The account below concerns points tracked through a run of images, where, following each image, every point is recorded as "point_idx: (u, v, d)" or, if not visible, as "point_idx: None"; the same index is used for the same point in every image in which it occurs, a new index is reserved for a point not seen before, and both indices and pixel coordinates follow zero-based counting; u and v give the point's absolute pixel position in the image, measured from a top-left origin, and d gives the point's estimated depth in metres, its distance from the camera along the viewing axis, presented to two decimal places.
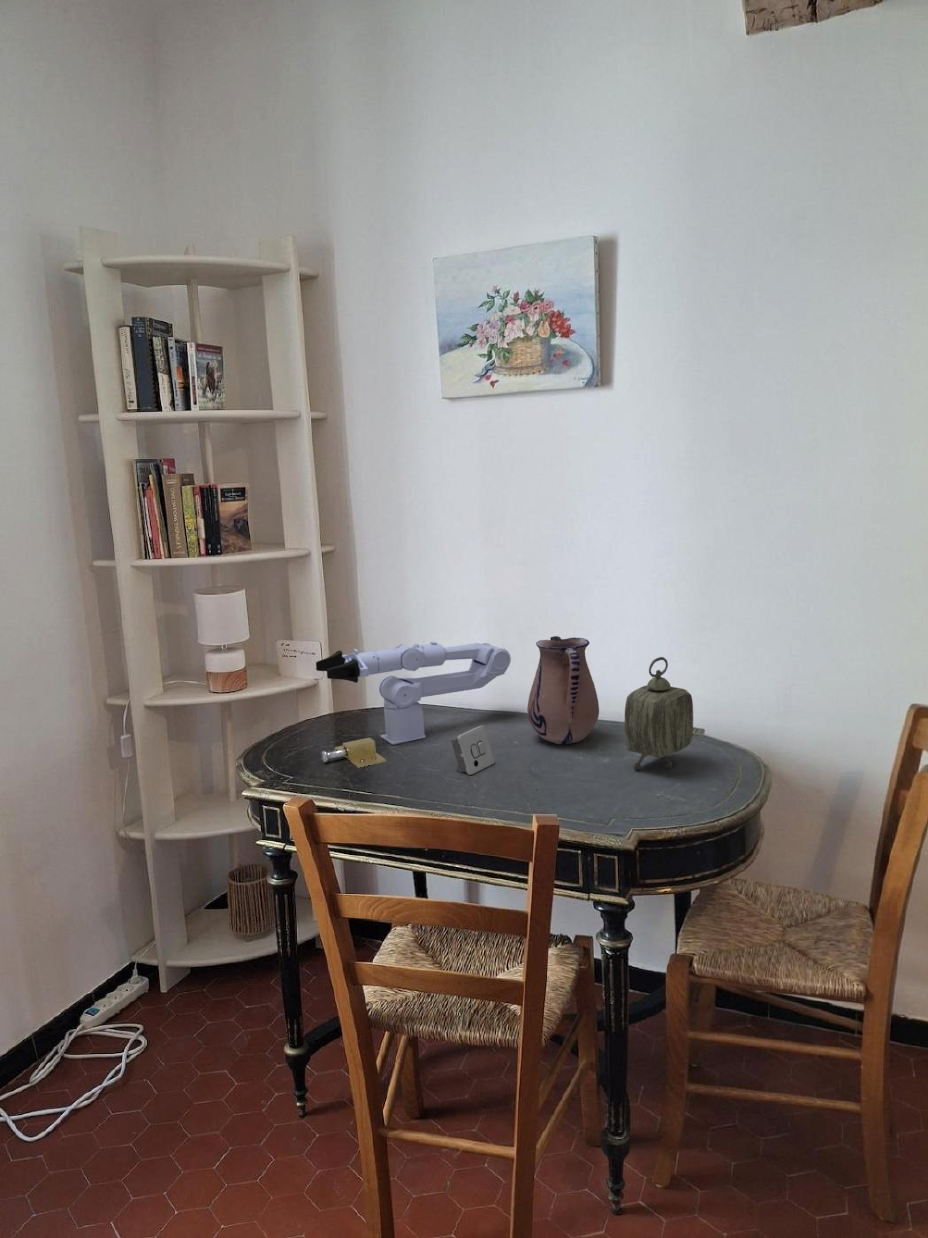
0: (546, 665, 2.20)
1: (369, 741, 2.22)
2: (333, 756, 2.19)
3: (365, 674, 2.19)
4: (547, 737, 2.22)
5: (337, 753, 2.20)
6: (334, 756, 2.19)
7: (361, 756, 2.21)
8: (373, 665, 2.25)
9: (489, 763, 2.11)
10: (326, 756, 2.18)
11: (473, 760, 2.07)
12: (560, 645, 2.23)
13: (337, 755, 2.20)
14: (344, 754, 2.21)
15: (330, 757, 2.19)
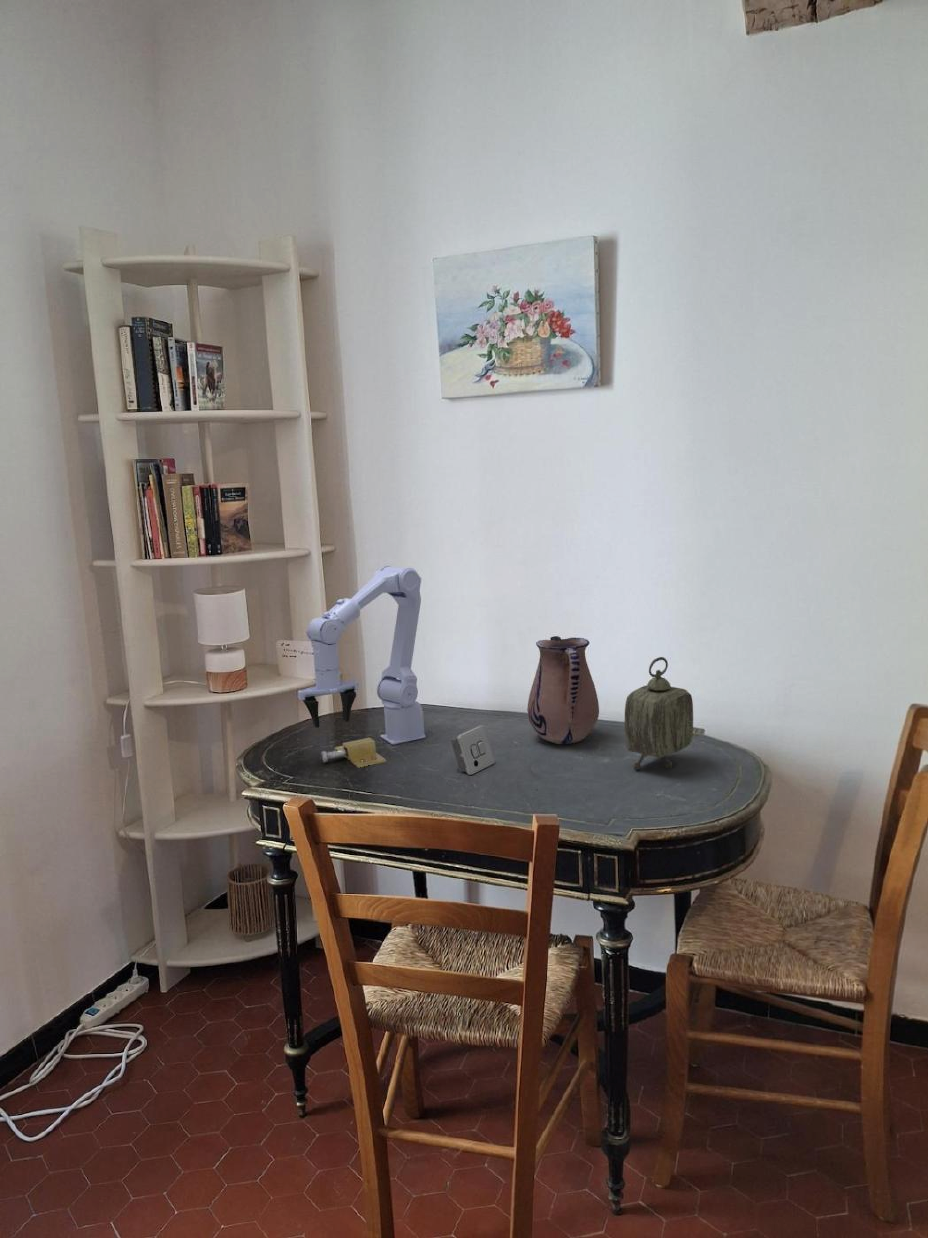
0: (546, 665, 2.20)
1: (369, 741, 2.22)
2: (333, 756, 2.19)
3: None
4: (547, 737, 2.22)
5: (337, 753, 2.20)
6: (334, 756, 2.19)
7: (361, 756, 2.21)
8: None
9: (489, 763, 2.11)
10: (326, 756, 2.18)
11: (473, 760, 2.07)
12: (560, 645, 2.23)
13: (337, 755, 2.20)
14: (344, 754, 2.21)
15: (330, 757, 2.19)
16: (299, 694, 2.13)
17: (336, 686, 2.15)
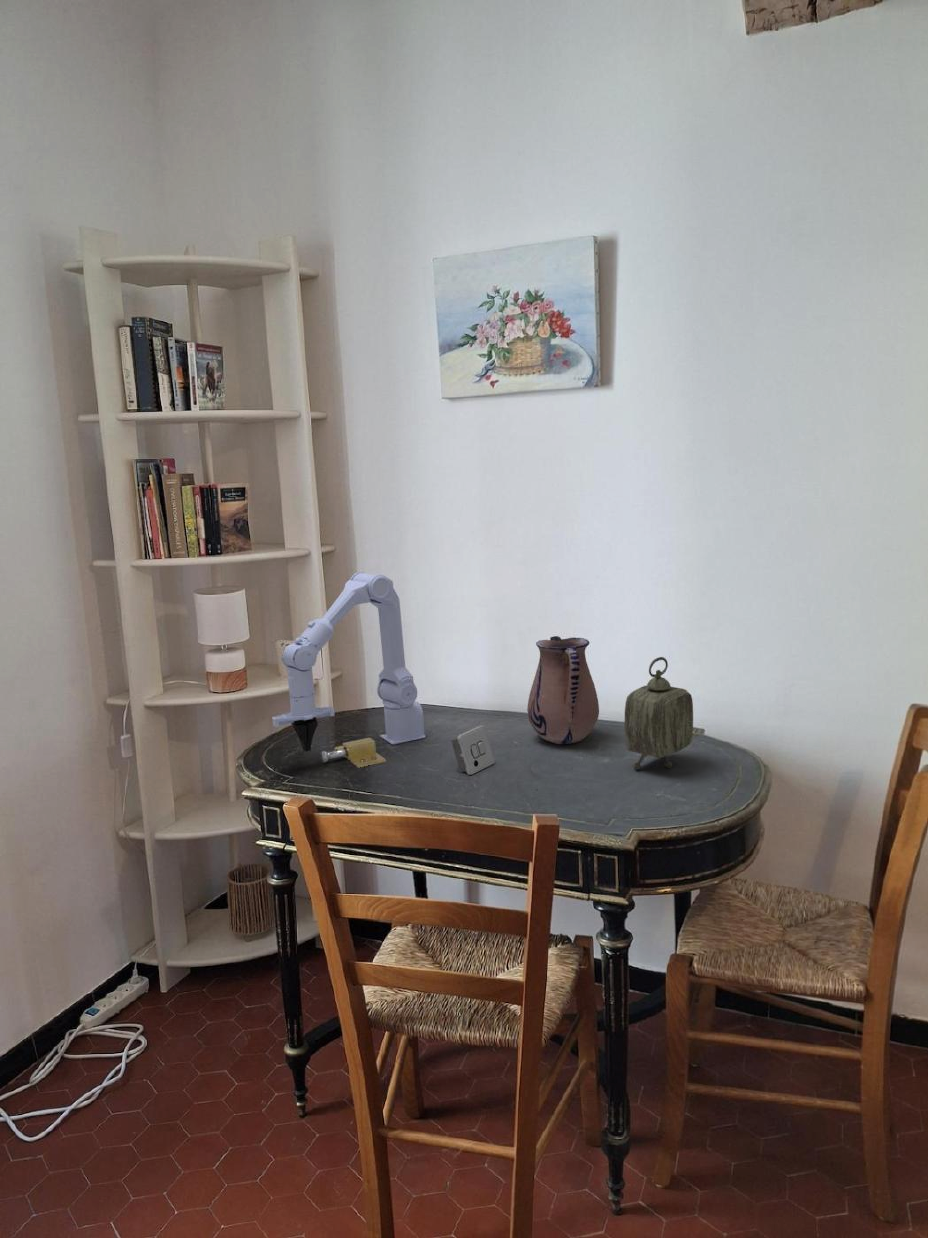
0: (546, 665, 2.20)
1: (369, 741, 2.22)
2: (333, 756, 2.19)
3: None
4: (547, 737, 2.22)
5: (337, 753, 2.20)
6: (334, 756, 2.19)
7: (361, 756, 2.21)
8: None
9: (489, 763, 2.11)
10: (326, 756, 2.18)
11: (473, 760, 2.07)
12: (560, 645, 2.23)
13: (337, 755, 2.20)
14: (344, 754, 2.21)
15: (330, 757, 2.19)
16: (273, 721, 2.11)
17: (311, 713, 2.13)
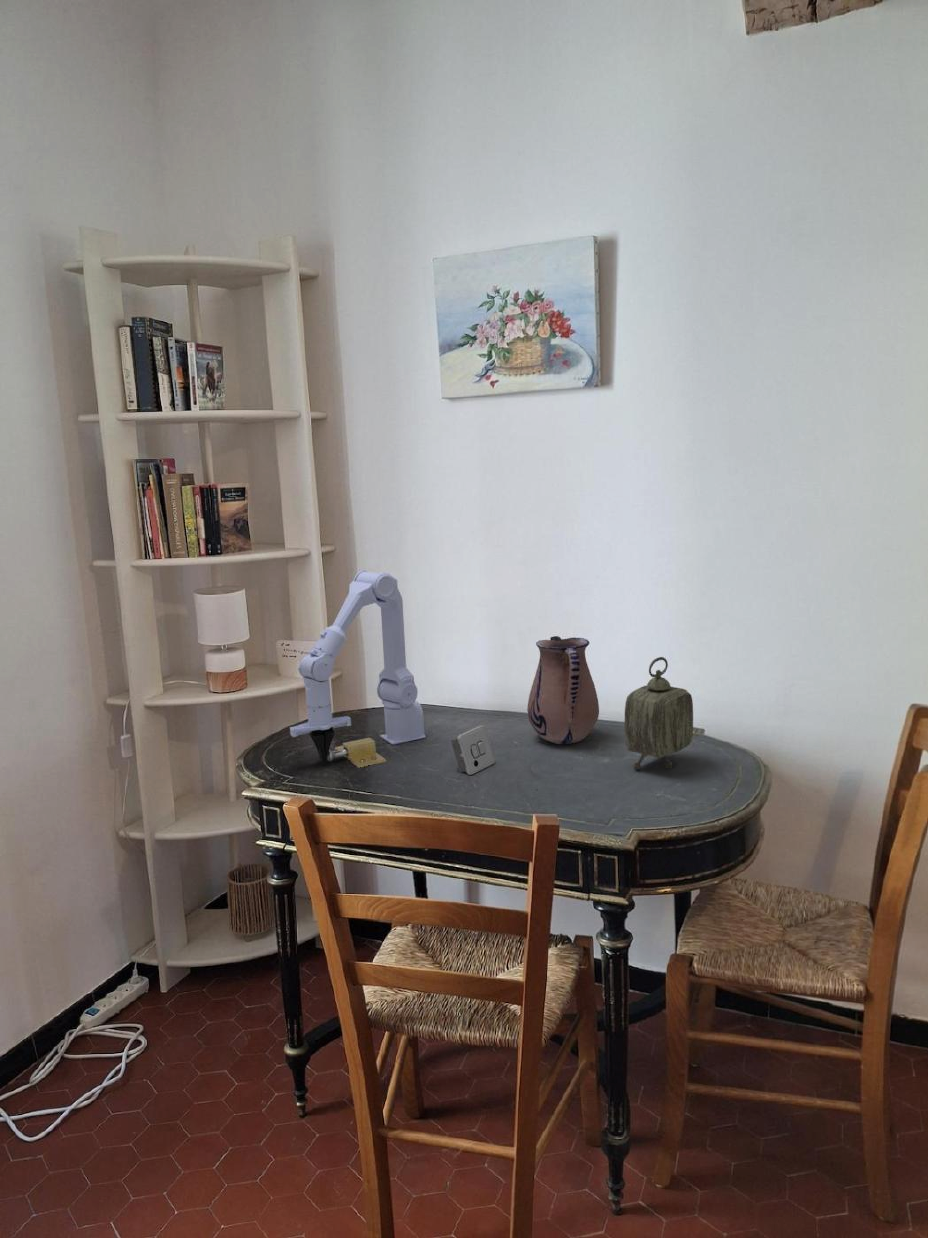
0: (546, 665, 2.20)
1: (369, 741, 2.22)
2: (338, 755, 2.20)
3: None
4: (547, 737, 2.22)
5: (342, 752, 2.20)
6: (339, 755, 2.20)
7: (361, 756, 2.21)
8: None
9: (489, 763, 2.11)
10: (331, 755, 2.18)
11: (473, 760, 2.07)
12: (560, 645, 2.23)
13: (342, 754, 2.20)
14: None
15: (335, 756, 2.19)
16: (291, 731, 2.14)
17: (328, 723, 2.15)
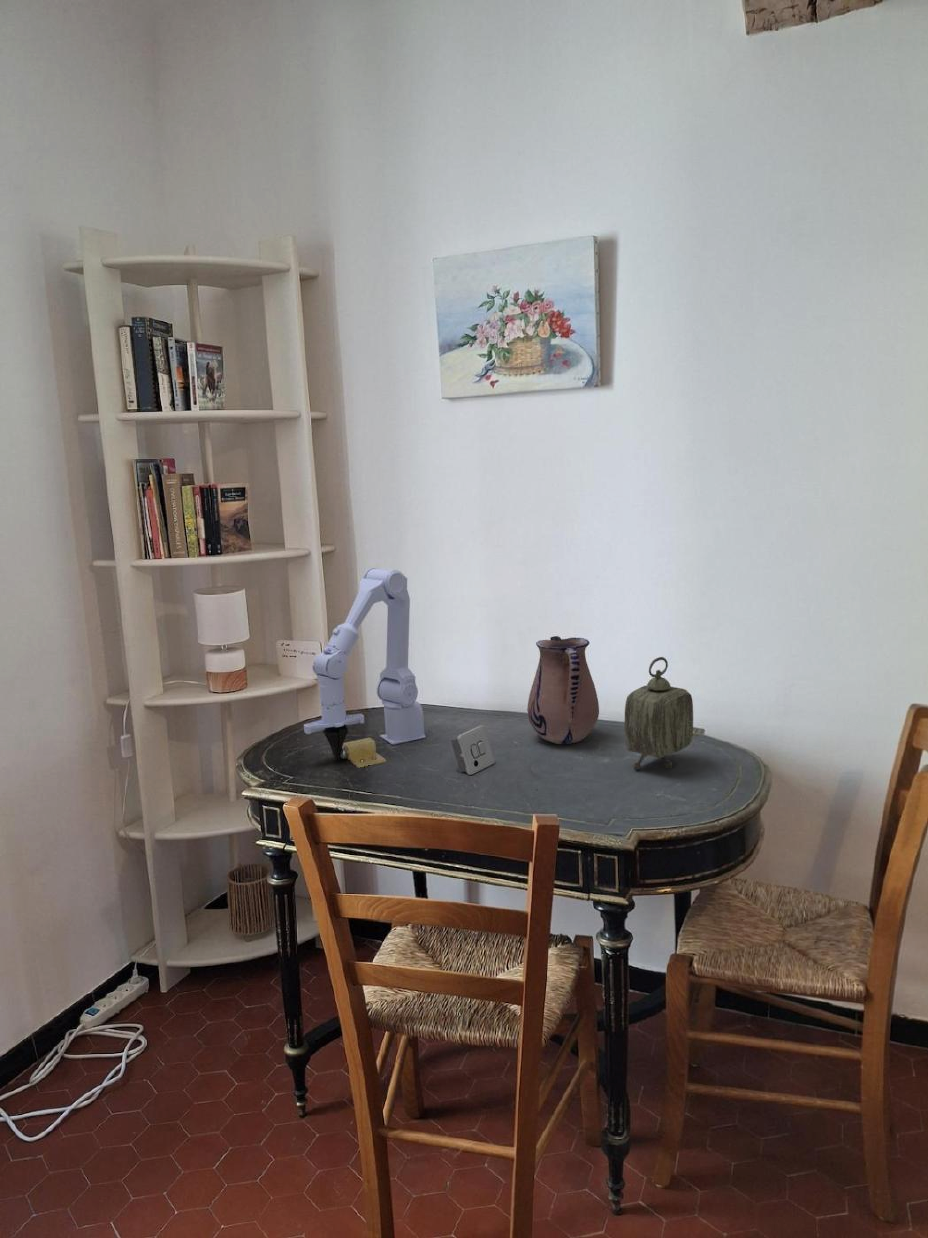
0: (546, 665, 2.20)
1: (369, 741, 2.22)
2: None
3: None
4: (547, 737, 2.22)
5: None
6: None
7: (361, 756, 2.21)
8: None
9: (489, 763, 2.11)
10: (344, 752, 2.20)
11: (473, 760, 2.07)
12: (560, 645, 2.23)
13: None
14: None
15: None
16: (305, 728, 2.15)
17: (342, 720, 2.17)
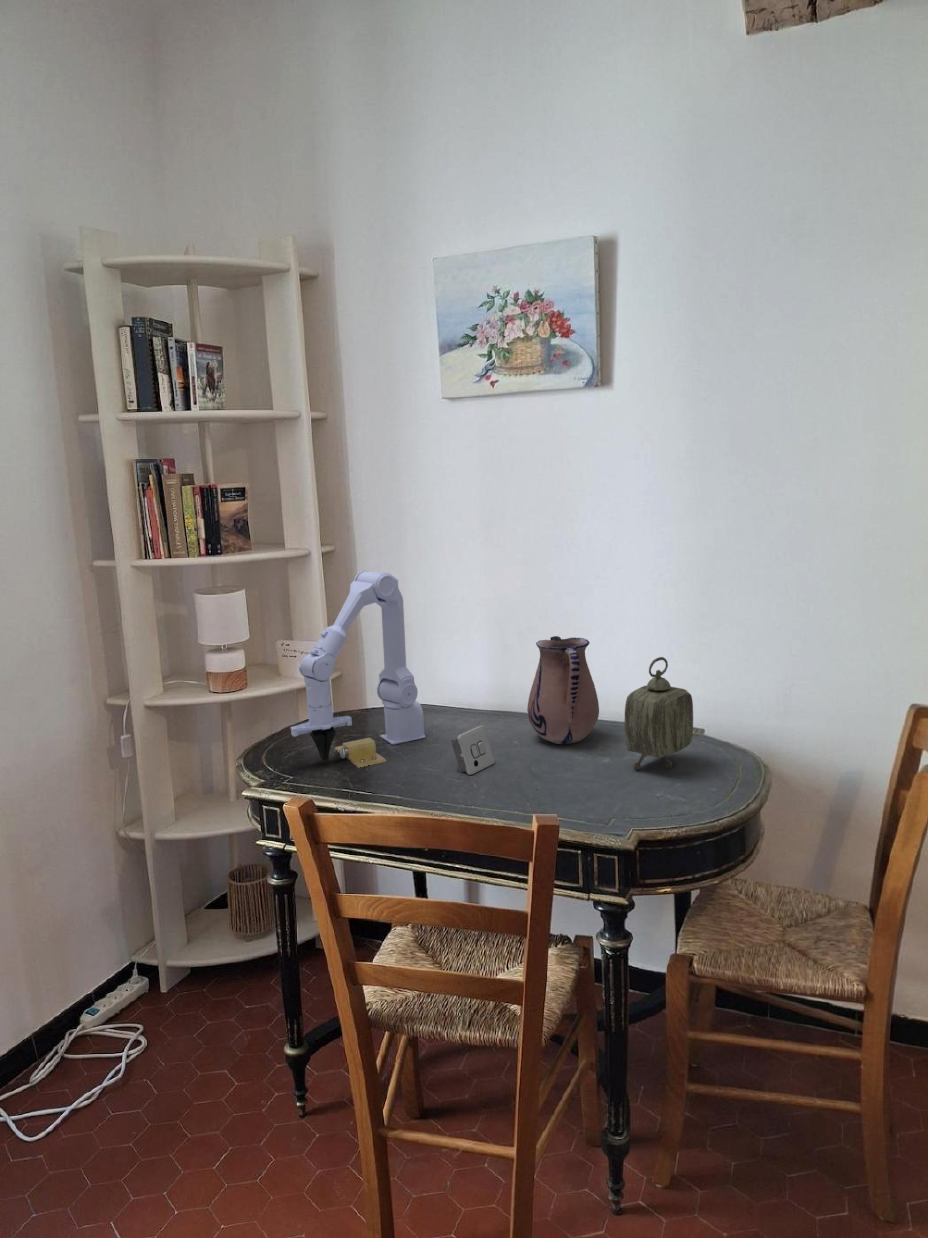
0: (546, 665, 2.20)
1: (369, 741, 2.22)
2: None
3: None
4: (547, 737, 2.22)
5: None
6: None
7: (361, 756, 2.21)
8: None
9: (489, 763, 2.11)
10: (344, 752, 2.20)
11: (473, 760, 2.07)
12: (560, 645, 2.23)
13: None
14: None
15: None
16: (292, 730, 2.14)
17: (329, 722, 2.15)
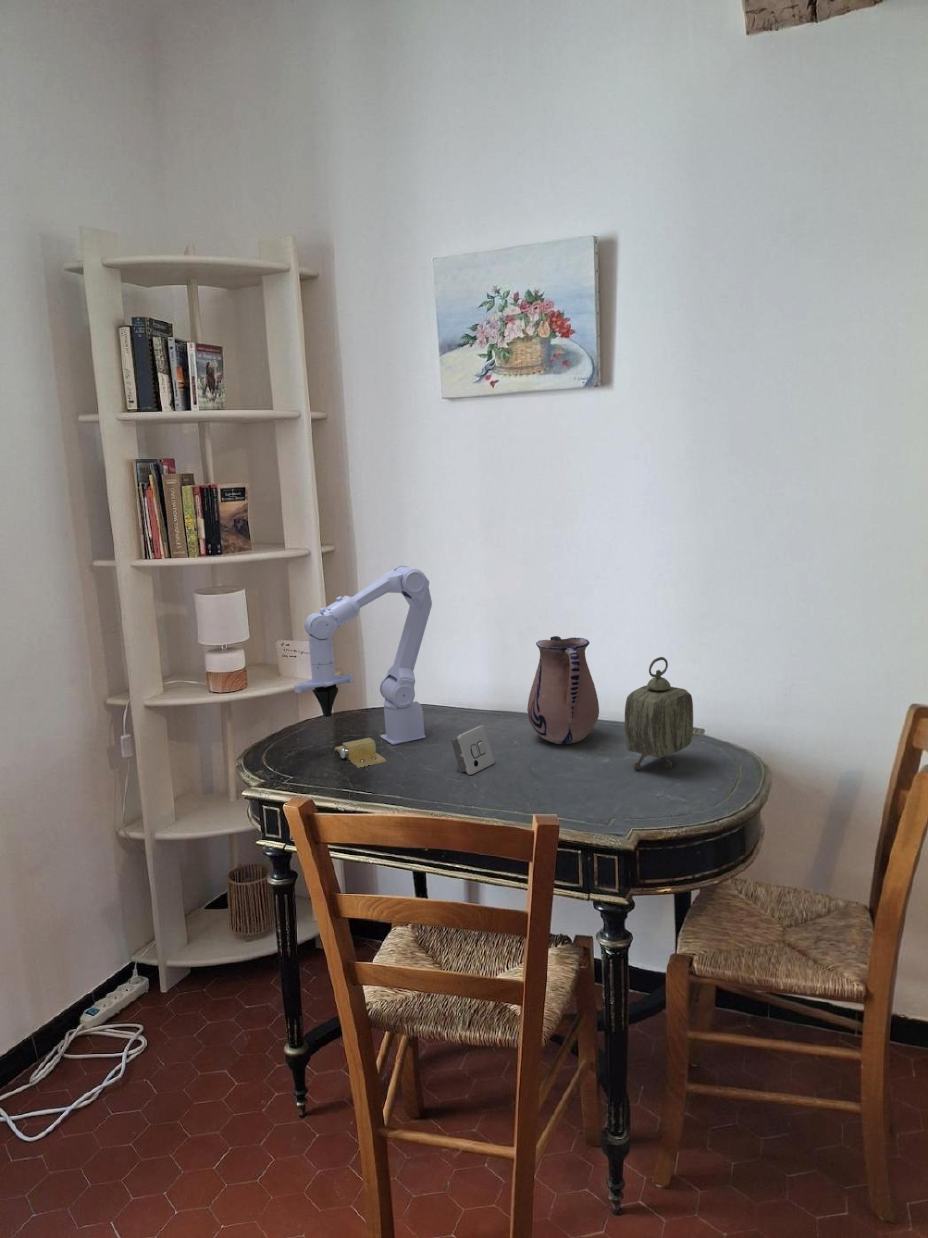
0: (546, 665, 2.20)
1: (369, 741, 2.22)
2: None
3: None
4: (547, 737, 2.22)
5: None
6: None
7: (361, 756, 2.21)
8: None
9: (489, 763, 2.11)
10: (344, 752, 2.20)
11: (473, 760, 2.07)
12: (560, 645, 2.23)
13: None
14: None
15: None
16: (296, 687, 2.20)
17: (332, 679, 2.22)
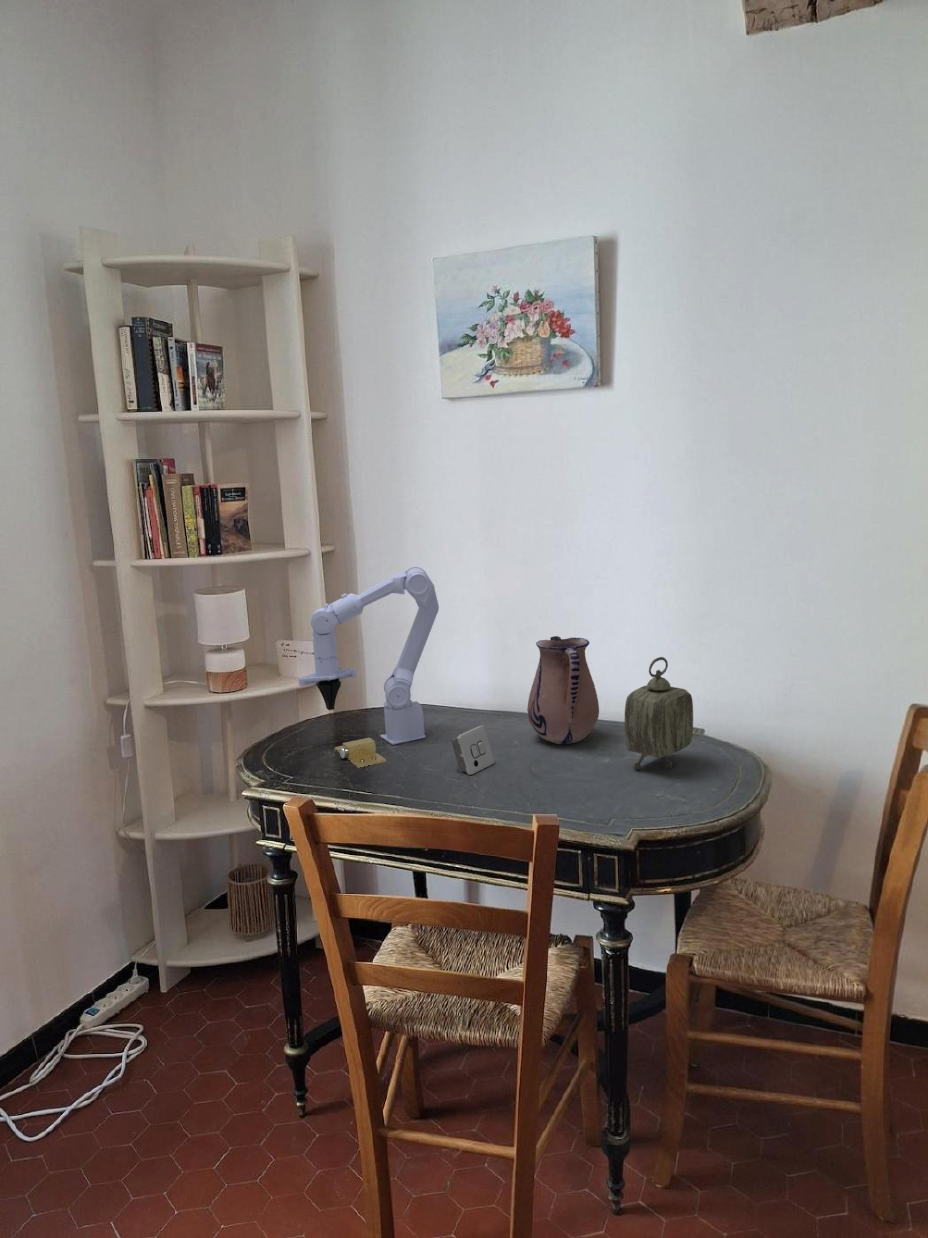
0: (546, 665, 2.20)
1: (369, 741, 2.22)
2: None
3: None
4: (547, 737, 2.22)
5: None
6: None
7: (361, 756, 2.21)
8: None
9: (489, 763, 2.11)
10: (344, 752, 2.20)
11: (473, 760, 2.07)
12: (560, 645, 2.23)
13: None
14: None
15: None
16: (299, 681, 2.26)
17: (334, 673, 2.27)
